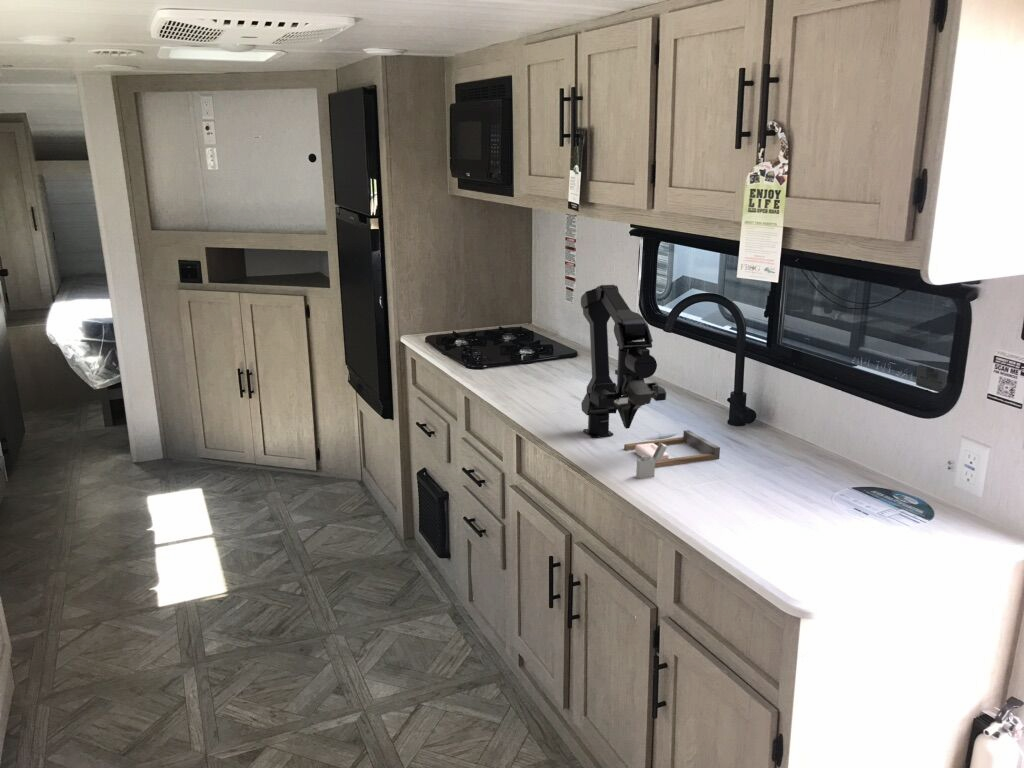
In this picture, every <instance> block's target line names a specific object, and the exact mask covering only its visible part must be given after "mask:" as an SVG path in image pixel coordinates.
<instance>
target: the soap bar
mask: <svg viewBox="0 0 1024 768" xmlns="http://www.w3.org/2000/svg"><path fill="white" fill-rule="evenodd" d="M657 447H658V446H657V445H655V444H654V443H648V444H639V445H636V449H635V451H634V452H635V453H636V454H637V455H638V456H640V458H641V457H642V456H643V455H650V456H651V458H653V455H654V453H655V451H656V449H657ZM663 459H670V454H669V453H668V452H666V451H665V452H664V454H663V456H662V458H661V460H663ZM655 461H656V460H655Z"/></svg>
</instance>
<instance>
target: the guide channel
mask: <svg viewBox="0 0 1024 768" xmlns="http://www.w3.org/2000/svg"><path fill="white" fill-rule="evenodd" d="M648 443H654V444H655V445H657V446H658V445H659V443H662V444H665V445H666V446H671V445H672V446H673V445H680V444H687V445H689V446H690V447H692V448H694V449H695V450H697V451H699V452H701V453H702V454H694V455H687V456H680V457H673V458H669V459H663V460H660V462H659V461H657V460H656V461H655V469H656V468H662V467H667V466H668V467H670V466H675V465H685V464H690V463H697V462H699V463H700V462H705V461H711V460H712V461H713V460H719V459H720V457H721V456H720V455H721V454H720V453H721V447H720V446H719V445H716V444H714V443H713V442H711V441H710V440H708V439H706V438H704V437H702V436H700V435H698V434H697V433H694V432H693V431H692V430H689V429H686V430H683V436H680V437H671V438H665V439H658V440H657V439H656V440H648V441H641V442H633V443H632V442H631V443H625V444H624V445H623V448H624V450H625V451H633V450H635V449H636V445H639V444H648Z"/></svg>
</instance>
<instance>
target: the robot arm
mask: <svg viewBox="0 0 1024 768" xmlns="http://www.w3.org/2000/svg"><path fill="white" fill-rule="evenodd" d="M626 302H627V301H625V299H624V298H623V296H622V295H621V294H620V291H619V286H618V285H615V284H600V285H598V286H596V287H595V288H593V289H589V290H586V291H585V292H584V293H583V294H582V295H581V297H580V306H581V308H582V315H583V316H584V318H585V319H586V321H587V322H588V324H589V337H590V359H591V378H590V380H589V382H588V384H587V386H586V393H585V395H584V397H583V399H582V402H581V411H582V412H583V413H584V415H586V416H587V417H588V418H587V419H588V420H587V428H584V429H583V430H582V432H584V433H585V434H586V435H588V436H589V437H590V438H593V439H594V438H603V437H610V436H614V433H613V432H612V431H610V428H609V427H610V414H617V412H618V414H619V416H620V419H621V422H622V424H623V427H624V429H625V430H626V429H630V428H631V425H632V422H633V421H634V418H635V415H636V414H637V411H638V410H639V409H640V408H641V407H643V406H645V405H649V404H651V401H652V399H653V400H654V401H656V402H661V401H666V400H667V390H666V389H665V387H663V386H661V385H659V384H658V382H656V381H655V382H645V379H649V378H650V377H652V376H653V375H655V373H656V371H657V367H658V362H657V360H656V359H655V357H654V356H653V355H652V354H651V351H650V348H651V349H652V348H653V343H652V342H653V340H654V339H653V337H652V333H651V331H650V328H649V325H648V322H647V321H646V320H645V318H644V317H643V316H642V315H641V314H640V313H638V312H636V311H632V310H631V308H630V307H629V306H628V303H626ZM610 318H611V319H612V320H613V322H614V326H613V335H614V337H615V340H616V341H617V343H616V346H617V347H618V350H617V351H618V352H617V353H618V354H617V369H615V370H614V374H615V375H616V376H617V377H616V382H614V381H613V380H612V378H611V376H610V360H609V359H610V358H609V357H610V355H609V338H608V337H609V335H608V322H609V320H610Z"/></svg>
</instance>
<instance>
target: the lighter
mask: <svg viewBox="0 0 1024 768" xmlns="http://www.w3.org/2000/svg"><path fill="white" fill-rule="evenodd" d="M667 448H668V445H665V444H662V443H659V445H658V447H657V449H656V451H655V453H654V455H653V458H651V456H650V455H643V456H642V457H641V456H640V458H637V459H636V472H635V473H636V475H635V477H636V476H637V477H636V478H637V479H639V478H640V479H648V478H649V479H650V478H655V472H656V471H655V470H656V468H655V460H657V461H659V462H660V460H661V458H662V456H663V454H664V452H666V450H667Z"/></svg>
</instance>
